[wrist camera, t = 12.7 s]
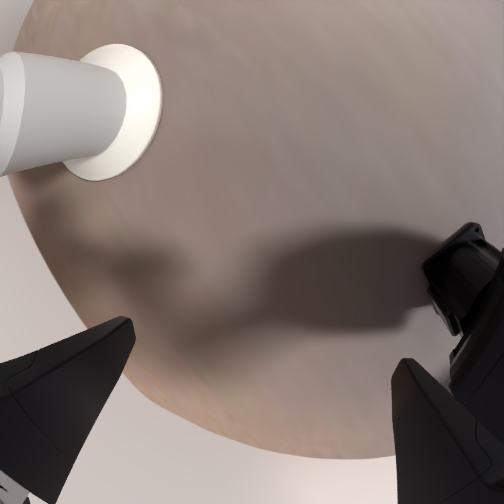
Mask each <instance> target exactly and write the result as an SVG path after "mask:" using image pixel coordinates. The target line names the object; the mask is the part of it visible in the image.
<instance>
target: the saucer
mask: <svg viewBox="0 0 504 504" xmlns="http://www.w3.org/2000/svg"><path fill="white" fill-rule="evenodd" d="M79 62H84V63H89V64H93V65H97V66H101V67H105V68H108V69H110V70H112V71H114V72H116V73H117V74H118V76H119V77H120V78H121V80H122V81H123V83H124V87H125V90H126V94H127V105H126V113H125V117H124V121H123V125H122V127H121V129H120V131H119V133H118V135H117V137H116V138H115V140H114V141H113V142H112V143H111V144H110V145H109V146H108V148H107V149H105V150H104V151H102V152H100V153H99V154H97V155H93V156H88V157H83V158H77V159H72V160H67V161H62V162H63V163H64V164H65V166H66V167H67V168H68V169H69V170H70V171H71V172H72V173H74V174H75V175H76V176H78V177H80V178H83V179H86V180H92V181H97V180H104V179H108V178H111V177H115V176H117V175H120V174H122V173H124V172H125V171H127V170H128V169H130V168H131V167H132V166H133V165H135V164H136V163H137V162H138V161H139V160H140V158H141V157H142V156H143V155H144V153H145V152H146V151H147V149H148V148H149V146H150V144H151V143H152V141H153V138H154V136H155V134H156V132H157V129H158V126H159V123H160V119H161V115H162V108H163V86H162V81H161V77H160V74H159V72H158V69H157V68H156V66H155V64H154V63H153V61H152V60H151V59H150V58H149V57H148V56H147V55H146V54H144V53H143V52H141V51H139V50H137V49H135V48H133V47H131V46H127V45H123V44H111V45H106V46H102V47H100V48H97V49H95V50H94V51H92V52H90V53H89V54H87V55H86V56H84V57H83V58H82V59H81V60H80V61H79Z"/></svg>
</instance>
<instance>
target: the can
mask: <svg viewBox="0 0 504 504" xmlns="http://www.w3.org/2000/svg"><path fill="white" fill-rule="evenodd" d="M126 105H127V94H126V90H125V87H124V83H123V81H122V80H121V78H120V77H119V76H118V74H117V73H116V72H114V71H112V70H110V69H108V68H105V67H101V66H97V65H93V64H89V63H84V62H79V61H75V60H70V59H64V58H59V57H53V56H47V55H40V54H32V53H23V52H9V53H6V54H4V55H3V56H2V57H0V177H1V176H5V175H8V174H12V173H15V172H19V171H23V170H27V169H31V168H35V167H39V166H43V165H48V164H52V163H57V162H62V161H67V160H72V159H77V158H83V157H88V156H93V155H97V154H99V153H100V152H102V151H104V150H105V149H107V148H108V146H109V145H110V144H111V143H112V142H113V141H114V140H115V138H116V137H117V135H118V133H119V131H120V129H121V127H122V125H123V121H124V117H125V113H126Z"/></svg>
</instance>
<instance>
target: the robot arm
mask: <svg viewBox="0 0 504 504" xmlns="http://www.w3.org/2000/svg"><path fill="white" fill-rule="evenodd" d="M476 227H477V229H476V231H475V228H476ZM428 266H430V267H429V269H427V270H426V268H427V267H428ZM422 271H423V273H424V275H425V277H426V279H427V281H428V283H429V285H430V286H429V287H428V289H427V292H428V294H429V296H430V298H431V300H432V302H433V304H434V306H435V309H436V310H437V312H438V314H439V315H440V317H441V318H442V320H443V322H444V323H445V325H446V326H447V328H448V330H449V331H450V333H451V335H452V336H457V335H458V334H460V336H461V337H462V338H461V340H460V342H459V343H458V345H457V346H456V348H455V349H453V351H452V352H451V354H450V355H449V357H450V366H451V367H450V377H451V382H450V383H449V389H450V391H451V393H452V395H451V394H450V393H449V392H448V391H447V390H446V389H445V388H444V387H443V386H442V385H441V384H440V383H439V382H438V381H437V380H436V379H435V378H434V377H432V376H431V375H430V374H429V373H428V372H427V371H426V370H425V369H424V368H423V367H422V366H421V365H420V364H419V363H418V362H416V361H415V360H414V359H412V358H403V359H401V360H400V362H399V364H398V366H397V368H396V370H395V371H394V373H393V375H392V379H391V390H392V422H393V432H394V442H395V453H396V467H397V491H398V504H504V248H503V249H502V252H501V251H499V250H498V249H497V248H495V247H494V246H493V245H491V244H490V243H488V242H487V241H486V240H485V237H484V234H483V231H482V228H481V226H480V225H479V224H478V223H473V224H472V225H470V226H469V227H468V228H467V229H466V230H465V231H463V232H462V233H461V234H460V235H459V236H457V237H456V238H455V239H454V240H452V241H451V242H450V243H449V244H448V245H446V246H445V247H444V248H442V249H441V250H440V251H439V252H437V253H436V254H435V255H433V256H432V257H431V258H430V259H428V260H427V261H426V262H424V263H423V265H422ZM135 340H136V336H135V332H134V327H133V322H132V320H131V319H130V318H127V317H124V316H119V317H116V318H114V319H112V320H109V321H107V322H104V323H102V324H100V325H97V326H95V327H92V328H90V329H88V330H85V331H83V332H80V333H78V334H75V335H73V336H71V337H69V338H66V339H63V340H61V341H58V342H56V343H54V344H51V345H49V346H46V347H44V348H41V349H39V351H38V350H37V351H34V352H32V353H29V354H26V355H24V356H21V357H18V358H16V359H12V360H9V361H6V362H3V363H0V504H30V501H29V498H28V497H27V496H28V494H29V492H31V493H32V494H34V495H35V496H37V497H38V498H40V499H42V500H43V501H45V502H47V503H48V504H55V503H56V502H57V499H58V497H59V495H60V493H61V490H62V488H63V486H64V484H65V482H66V480H67V477H68V475H69V473H70V471H71V469H72V467H73V464H74V463H75V461H76V459H77V456H78V454H79V452H80V450H81V448H82V446H83V444H84V443H85V440H86V439H87V437H88V435H89V433H90V431H91V429H92V427H93V425H94V423H95V421H96V420H97V418H98V416H99V414H100V412H101V410H102V408H103V407H104V405H105V403H106V401H107V399H108V397H109V396H110V394H111V392H112V390H113V389H114V387H115V385H116V383H117V381H118V380H119V378H120V376H121V373H122V371H123V369H124V367H125V364H126V362H127V360H128V357H129V355H130V353H131V351H132V348H133V346H134V344H135Z"/></svg>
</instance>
